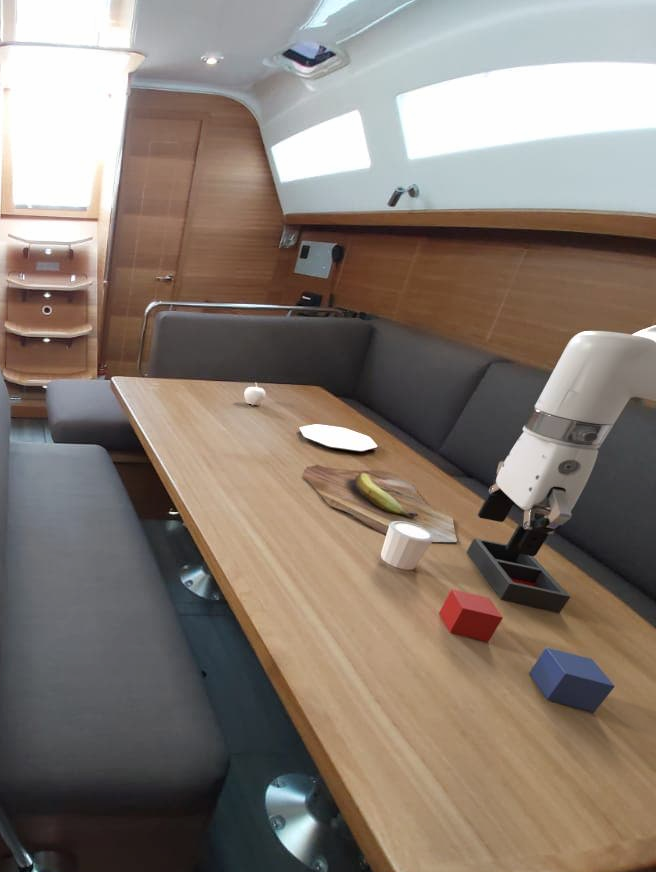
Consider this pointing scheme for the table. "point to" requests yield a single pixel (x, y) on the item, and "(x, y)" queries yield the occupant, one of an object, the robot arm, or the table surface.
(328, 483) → the cutting board
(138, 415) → the table surface
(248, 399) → the plain white apple
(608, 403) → the robot arm
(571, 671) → the blue block
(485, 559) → the tray
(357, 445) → the plate
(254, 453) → the table surface
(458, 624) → the red block
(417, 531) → the white cup
